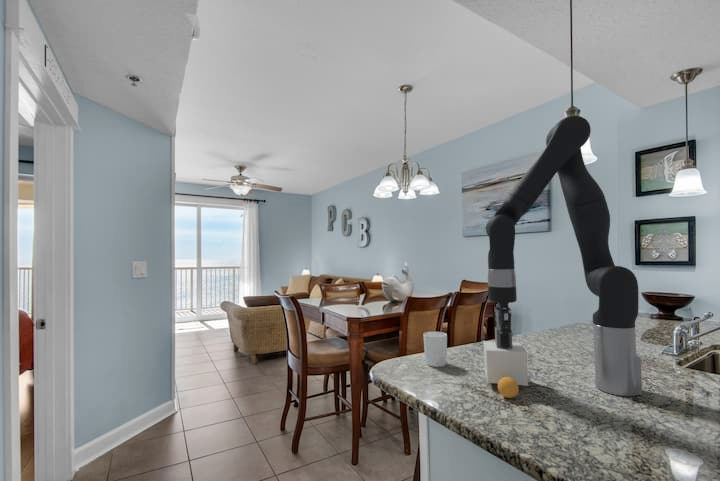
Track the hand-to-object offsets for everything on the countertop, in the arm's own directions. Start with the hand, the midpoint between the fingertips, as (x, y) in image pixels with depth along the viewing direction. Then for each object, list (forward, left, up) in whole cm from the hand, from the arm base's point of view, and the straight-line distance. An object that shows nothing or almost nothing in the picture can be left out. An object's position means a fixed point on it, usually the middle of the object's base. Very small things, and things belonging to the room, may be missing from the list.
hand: (504, 344), depth 98 cm
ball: (+1, +10, -8) cm, 13 cm away
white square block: (0, 0, -9) cm, 9 cm away
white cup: (+20, -14, -11) cm, 27 cm away
